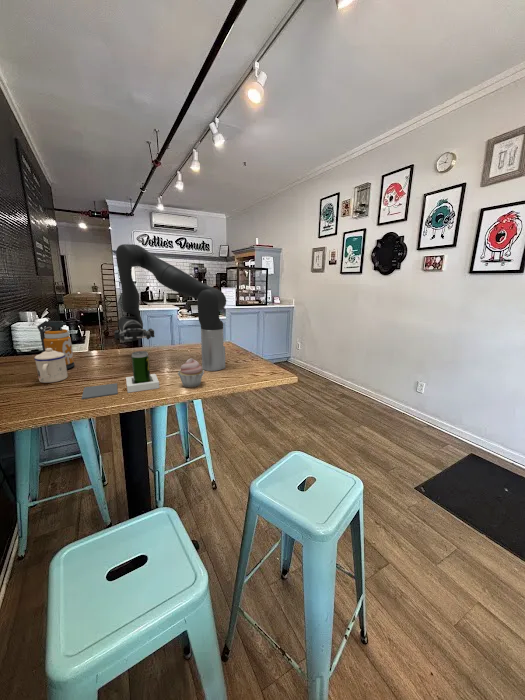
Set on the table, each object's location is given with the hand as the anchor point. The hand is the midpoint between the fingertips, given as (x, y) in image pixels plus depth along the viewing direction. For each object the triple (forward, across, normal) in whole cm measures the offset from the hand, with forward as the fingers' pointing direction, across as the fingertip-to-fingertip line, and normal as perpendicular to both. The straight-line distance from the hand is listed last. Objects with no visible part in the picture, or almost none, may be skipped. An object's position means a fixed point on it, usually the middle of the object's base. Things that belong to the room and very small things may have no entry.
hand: (136, 337), depth 106 cm
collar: (+12, 0, +15) cm, 19 cm away
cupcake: (+18, +16, +15) cm, 28 cm away
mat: (+12, -13, +15) cm, 23 cm away
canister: (-24, -29, +16) cm, 40 cm away
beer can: (+12, 0, +15) cm, 19 cm away
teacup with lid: (-8, -29, +16) cm, 34 cm away
